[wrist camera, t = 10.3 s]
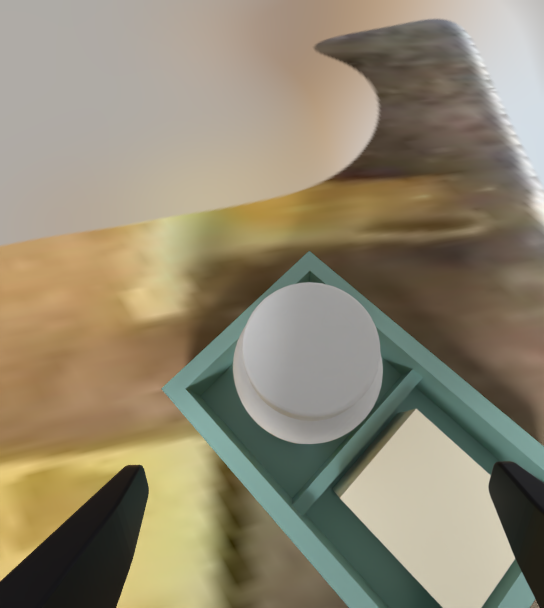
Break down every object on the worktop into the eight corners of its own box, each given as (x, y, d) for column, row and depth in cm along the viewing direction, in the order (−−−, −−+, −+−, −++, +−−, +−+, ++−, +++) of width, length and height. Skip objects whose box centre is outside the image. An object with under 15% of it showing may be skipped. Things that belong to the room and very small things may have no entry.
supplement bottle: (349, 338, 20) (395, 256, 11) (358, 442, 18) (422, 444, 9) (252, 341, 20) (220, 262, 11) (251, 443, 19) (211, 446, 10)
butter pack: (500, 507, 17) (541, 521, 14) (434, 597, 16) (464, 631, 13) (397, 413, 19) (416, 408, 16) (332, 488, 18) (339, 498, 15)
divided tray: (545, 485, 18) (603, 496, 14) (417, 666, 16) (451, 726, 12) (306, 278, 22) (309, 250, 19) (182, 396, 20) (161, 388, 17)
